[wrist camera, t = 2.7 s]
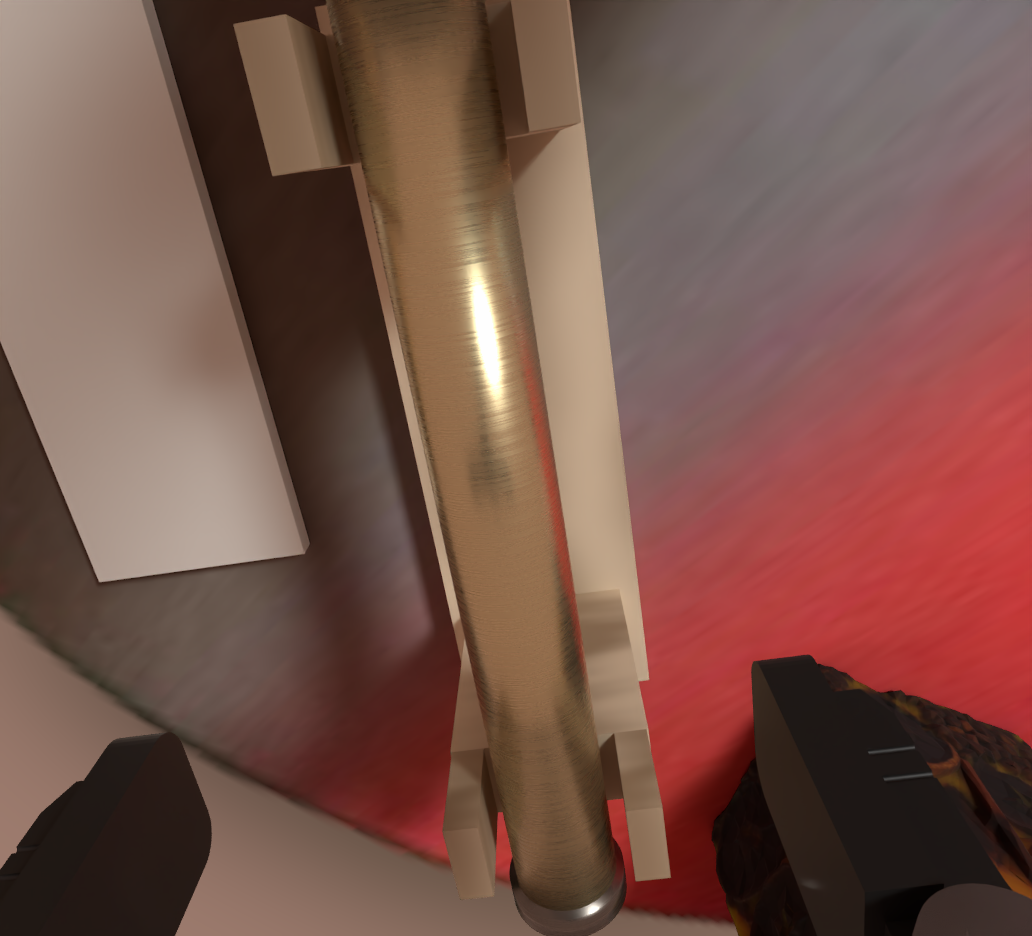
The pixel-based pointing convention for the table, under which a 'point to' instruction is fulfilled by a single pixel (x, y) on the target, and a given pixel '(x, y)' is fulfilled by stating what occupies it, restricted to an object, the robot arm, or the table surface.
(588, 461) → the rail stand
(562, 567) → the brass rail
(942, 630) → the table surface
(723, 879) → the yellow cube with hole
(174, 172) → the grey mat
